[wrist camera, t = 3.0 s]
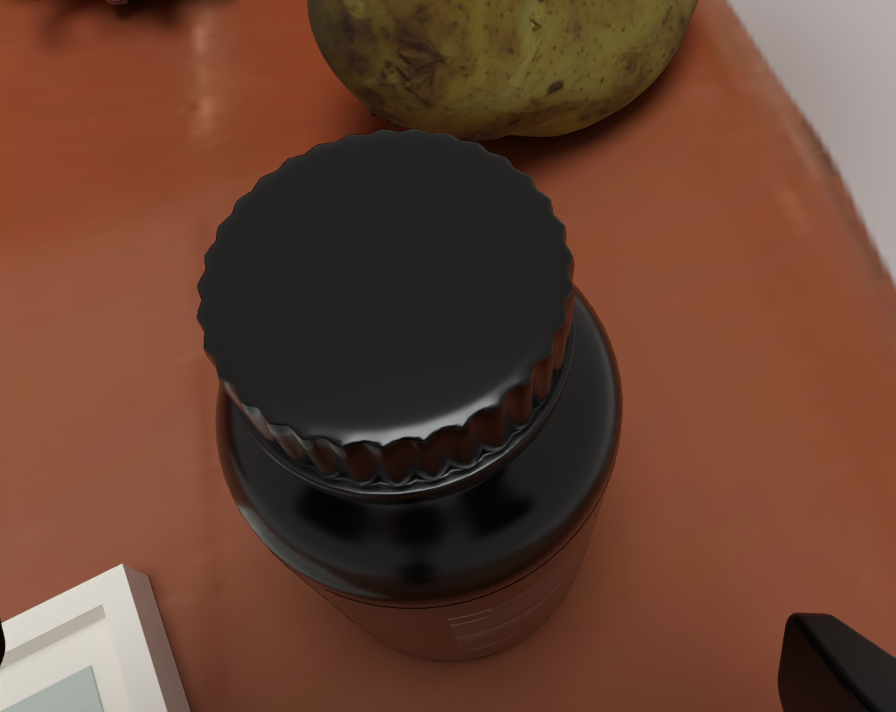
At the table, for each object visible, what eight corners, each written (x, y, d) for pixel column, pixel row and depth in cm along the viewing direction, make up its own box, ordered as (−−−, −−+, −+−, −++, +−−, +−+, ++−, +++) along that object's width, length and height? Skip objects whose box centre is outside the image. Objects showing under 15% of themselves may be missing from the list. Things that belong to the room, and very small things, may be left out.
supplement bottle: (574, 400, 22) (644, 59, 11) (592, 664, 18) (716, 549, 8) (330, 405, 22) (165, 80, 11) (308, 664, 19) (53, 553, 8)
